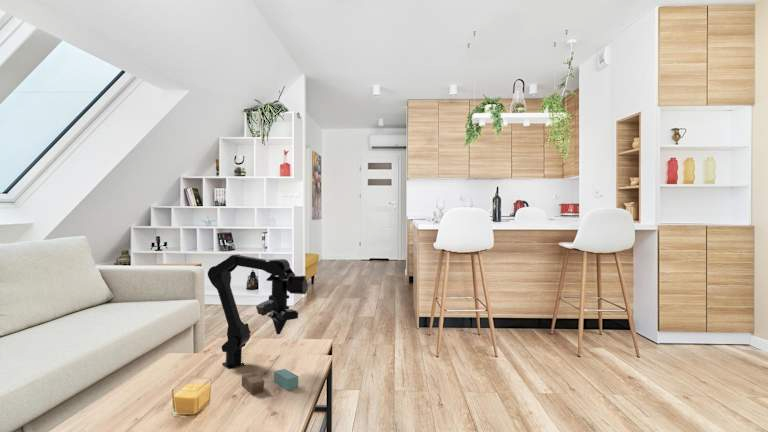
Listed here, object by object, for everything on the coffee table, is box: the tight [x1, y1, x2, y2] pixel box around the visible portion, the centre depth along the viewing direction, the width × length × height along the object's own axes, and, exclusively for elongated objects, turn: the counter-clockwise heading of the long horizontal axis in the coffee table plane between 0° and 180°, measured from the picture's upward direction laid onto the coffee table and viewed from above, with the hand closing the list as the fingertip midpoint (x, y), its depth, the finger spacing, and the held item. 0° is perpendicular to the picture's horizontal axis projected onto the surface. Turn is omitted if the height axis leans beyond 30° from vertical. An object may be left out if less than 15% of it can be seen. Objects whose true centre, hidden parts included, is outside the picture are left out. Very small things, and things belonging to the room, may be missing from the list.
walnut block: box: [241, 371, 265, 396], centre depth 134 cm, size 4×4×9 cm
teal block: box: [273, 368, 299, 391], centre depth 138 cm, size 4×4×9 cm
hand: (278, 334), depth 153 cm, fingers closed
